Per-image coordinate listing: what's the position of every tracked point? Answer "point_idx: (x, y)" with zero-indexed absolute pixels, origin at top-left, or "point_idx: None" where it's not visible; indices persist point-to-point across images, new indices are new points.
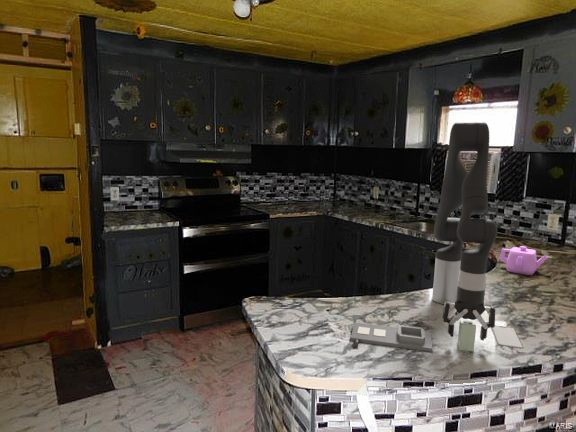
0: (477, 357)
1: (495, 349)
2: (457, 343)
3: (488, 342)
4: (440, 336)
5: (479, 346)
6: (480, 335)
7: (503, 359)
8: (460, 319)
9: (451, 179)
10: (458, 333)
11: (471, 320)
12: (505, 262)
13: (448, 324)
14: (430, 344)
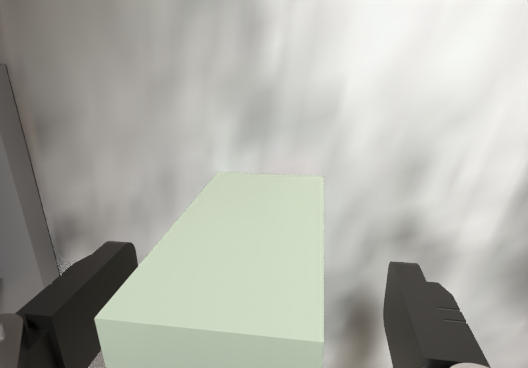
0: (326, 341)
1: (516, 203)
2: (217, 173)
3: (511, 68)
4: (89, 72)
5: (388, 180)
6: (394, 287)
7: (505, 341)
8: (105, 332)
9: None
10: (187, 211)
11: (279, 344)
12: None
13: (19, 315)
14: (36, 288)
